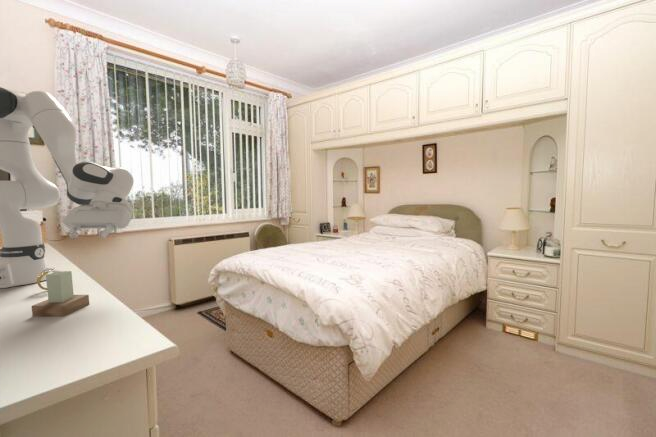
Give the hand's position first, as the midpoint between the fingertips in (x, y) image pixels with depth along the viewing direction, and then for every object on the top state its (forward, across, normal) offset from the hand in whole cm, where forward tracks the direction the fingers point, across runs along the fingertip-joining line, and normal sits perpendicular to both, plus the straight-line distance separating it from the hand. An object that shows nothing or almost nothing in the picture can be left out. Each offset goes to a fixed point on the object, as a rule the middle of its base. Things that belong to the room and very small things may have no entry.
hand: (87, 237), depth 102 cm
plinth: (+22, 0, +5) cm, 23 cm away
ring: (+9, -20, +19) cm, 29 cm away
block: (+20, 0, +3) cm, 20 cm away
